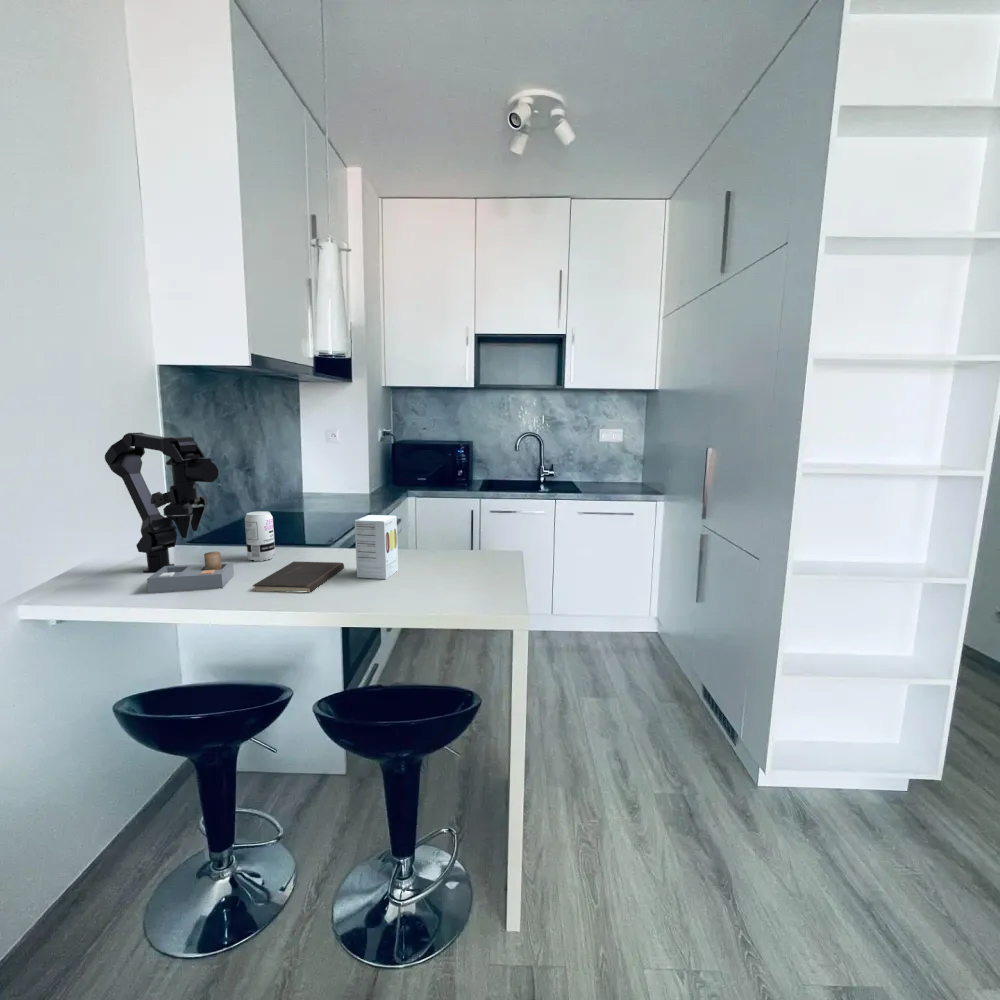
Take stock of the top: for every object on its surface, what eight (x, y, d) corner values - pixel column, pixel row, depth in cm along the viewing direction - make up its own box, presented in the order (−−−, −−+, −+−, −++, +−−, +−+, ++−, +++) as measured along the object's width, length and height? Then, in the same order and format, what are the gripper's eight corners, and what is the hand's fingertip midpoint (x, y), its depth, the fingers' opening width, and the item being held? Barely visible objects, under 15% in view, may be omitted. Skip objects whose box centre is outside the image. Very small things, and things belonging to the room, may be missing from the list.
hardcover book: (253, 593, 146) (252, 585, 145) (294, 568, 168) (293, 561, 168) (311, 595, 144) (310, 586, 144) (344, 569, 166) (344, 562, 166)
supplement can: (248, 556, 180) (245, 511, 178) (275, 554, 183) (272, 510, 180) (247, 563, 173) (243, 516, 170) (275, 560, 175) (271, 514, 173)
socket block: (166, 579, 156) (164, 565, 155) (234, 575, 159) (233, 561, 159) (148, 593, 144) (147, 577, 144) (222, 588, 148) (221, 572, 147)
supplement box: (386, 579, 155) (384, 521, 152) (356, 578, 157) (353, 520, 154) (399, 570, 164) (397, 515, 161) (370, 568, 166) (368, 514, 163)
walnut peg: (209, 579, 156) (206, 552, 155) (224, 578, 157) (221, 551, 155) (204, 583, 152) (202, 555, 151) (220, 582, 153) (217, 554, 152)
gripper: (165, 478, 164) (171, 529, 166) (139, 486, 146) (145, 543, 148) (206, 476, 166) (211, 527, 169) (185, 484, 148) (190, 541, 151)
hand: (189, 534), depth 159 cm, fingers open, 9 cm apart
